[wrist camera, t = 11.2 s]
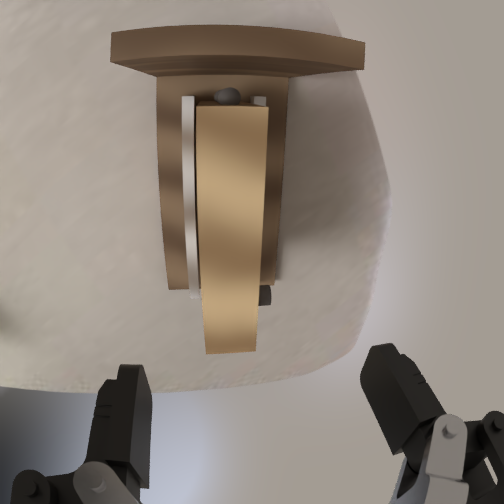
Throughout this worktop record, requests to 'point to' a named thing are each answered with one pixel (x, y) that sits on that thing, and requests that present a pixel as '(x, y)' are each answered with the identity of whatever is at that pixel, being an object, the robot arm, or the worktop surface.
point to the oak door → (231, 218)
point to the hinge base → (203, 89)
